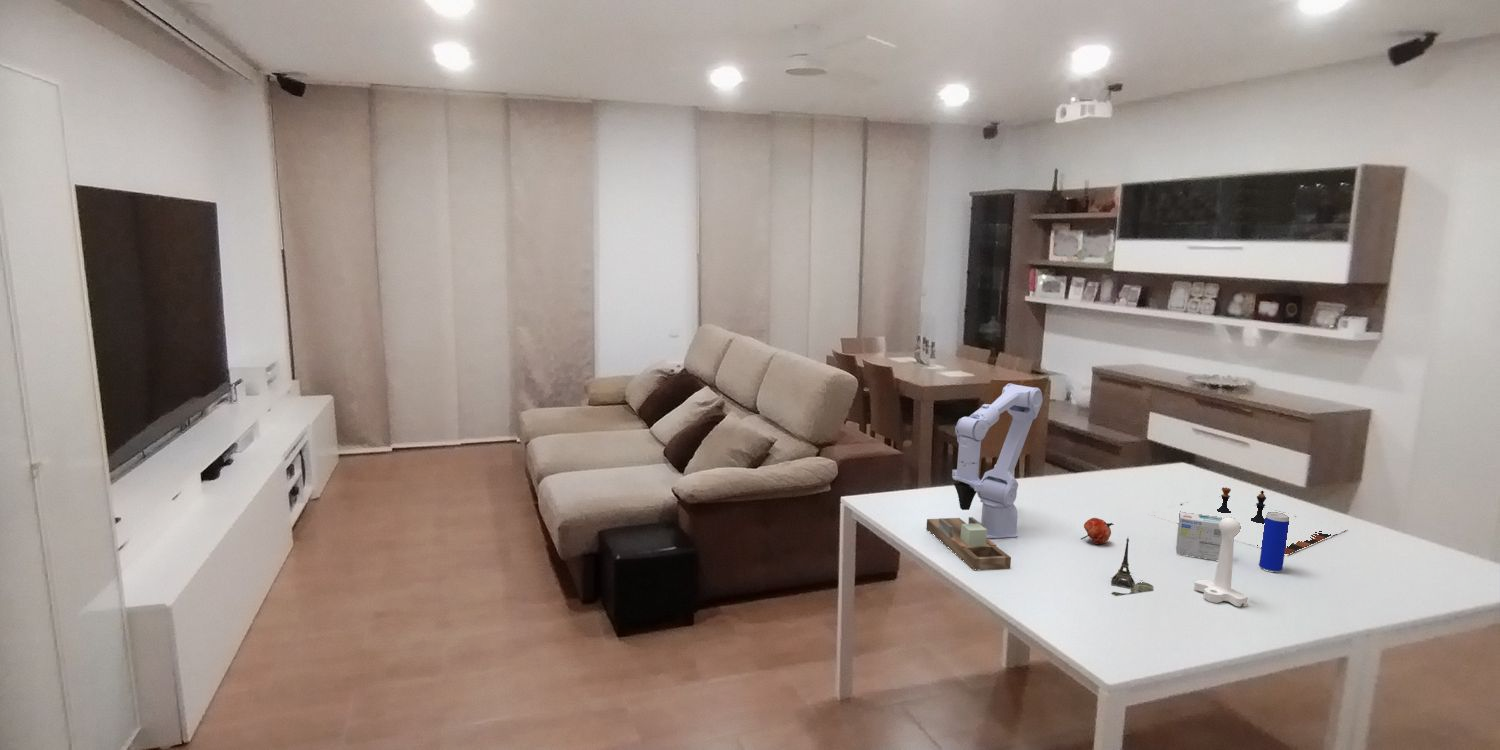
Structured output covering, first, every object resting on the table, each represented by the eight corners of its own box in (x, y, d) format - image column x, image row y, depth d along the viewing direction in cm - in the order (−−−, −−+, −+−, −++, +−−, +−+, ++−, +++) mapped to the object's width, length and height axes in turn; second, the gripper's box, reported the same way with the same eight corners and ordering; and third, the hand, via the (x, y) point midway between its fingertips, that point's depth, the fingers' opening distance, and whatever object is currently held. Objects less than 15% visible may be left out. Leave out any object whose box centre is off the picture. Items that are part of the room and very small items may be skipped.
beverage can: (1278, 567, 214) (1286, 512, 212) (1284, 574, 210) (1292, 519, 207) (1256, 564, 216) (1263, 510, 214) (1261, 571, 211) (1269, 516, 209)
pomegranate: (1082, 552, 228) (1114, 538, 222) (1069, 528, 230) (1100, 513, 225) (1091, 548, 233) (1123, 534, 228) (1078, 524, 236) (1109, 510, 230)
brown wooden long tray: (958, 527, 239) (959, 507, 238) (1010, 568, 209) (1012, 546, 208) (926, 528, 237) (927, 509, 236) (974, 570, 207) (975, 548, 206)
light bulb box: (1218, 554, 223) (1223, 516, 221) (1220, 562, 217) (1225, 523, 215) (1174, 547, 227) (1178, 510, 226) (1175, 555, 221) (1180, 517, 220)
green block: (977, 539, 221) (978, 523, 220) (985, 545, 216) (987, 529, 215) (960, 539, 220) (961, 524, 219) (968, 546, 215) (969, 530, 214)
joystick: (1249, 604, 191) (1260, 523, 188) (1231, 611, 187) (1241, 528, 184) (1203, 587, 201) (1213, 509, 197) (1185, 592, 197) (1194, 513, 194)
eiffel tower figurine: (1114, 598, 194) (1120, 545, 192) (1084, 581, 203) (1089, 531, 201) (1163, 591, 199) (1169, 539, 197) (1131, 575, 208) (1137, 525, 206)
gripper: (943, 454, 227) (940, 501, 229) (966, 468, 213) (963, 518, 215) (966, 454, 228) (963, 500, 230) (991, 468, 214) (987, 517, 216)
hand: (964, 509), depth 223 cm, fingers closed
